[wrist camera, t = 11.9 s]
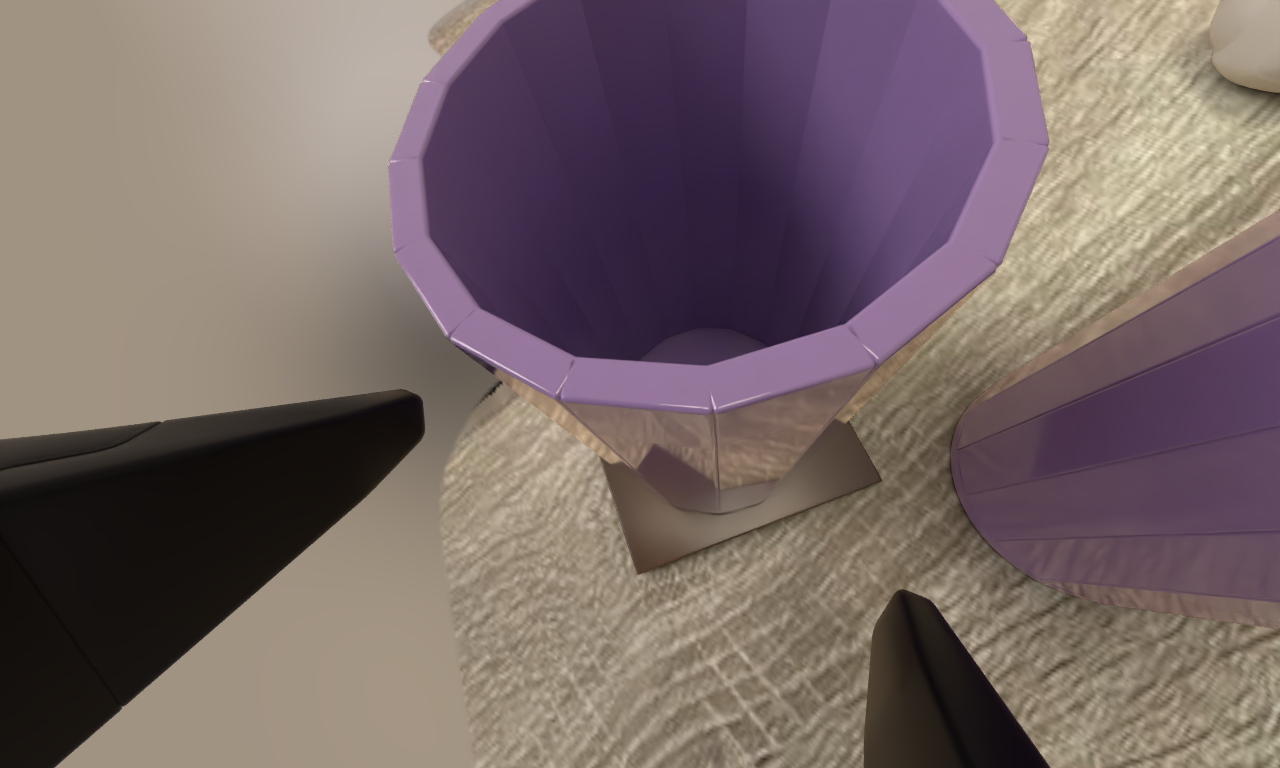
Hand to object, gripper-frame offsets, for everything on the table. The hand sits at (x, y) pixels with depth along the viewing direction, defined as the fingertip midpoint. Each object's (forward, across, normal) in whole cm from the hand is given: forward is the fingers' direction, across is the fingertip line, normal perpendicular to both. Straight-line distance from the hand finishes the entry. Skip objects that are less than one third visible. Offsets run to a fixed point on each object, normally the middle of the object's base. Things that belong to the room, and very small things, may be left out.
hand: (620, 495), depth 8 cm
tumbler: (+8, 0, +2) cm, 9 cm away
